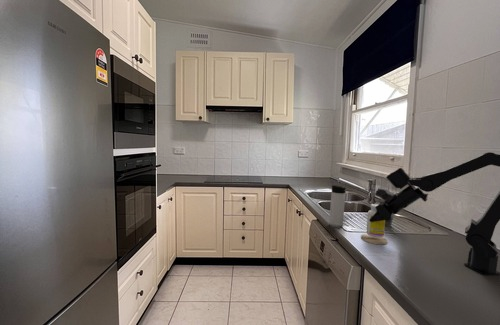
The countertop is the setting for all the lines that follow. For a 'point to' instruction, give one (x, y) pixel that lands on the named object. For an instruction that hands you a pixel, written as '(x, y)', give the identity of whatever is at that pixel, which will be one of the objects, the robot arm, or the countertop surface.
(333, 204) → the travel mug
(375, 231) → the supplement bottle
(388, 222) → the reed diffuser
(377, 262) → the countertop surface
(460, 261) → the countertop surface
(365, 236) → the coaster
